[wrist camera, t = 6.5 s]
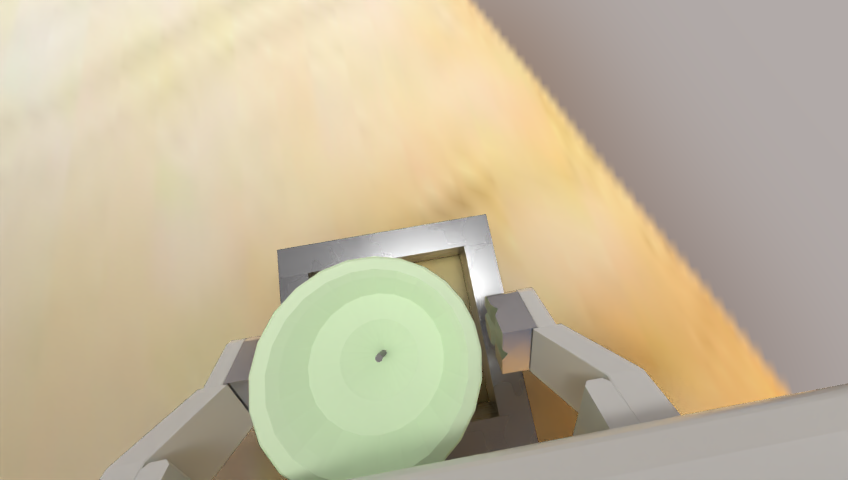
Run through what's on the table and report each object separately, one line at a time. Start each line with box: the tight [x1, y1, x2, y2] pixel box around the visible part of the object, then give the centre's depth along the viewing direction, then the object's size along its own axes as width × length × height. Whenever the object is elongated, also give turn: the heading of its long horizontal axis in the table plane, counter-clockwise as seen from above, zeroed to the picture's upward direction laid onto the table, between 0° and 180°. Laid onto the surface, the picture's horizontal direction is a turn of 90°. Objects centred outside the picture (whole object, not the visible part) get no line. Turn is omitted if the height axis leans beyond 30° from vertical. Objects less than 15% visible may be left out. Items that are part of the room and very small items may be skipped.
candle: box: [249, 256, 482, 480], centre depth 10 cm, size 5×5×8 cm
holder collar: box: [277, 214, 538, 461], centre depth 13 cm, size 9×9×2 cm
